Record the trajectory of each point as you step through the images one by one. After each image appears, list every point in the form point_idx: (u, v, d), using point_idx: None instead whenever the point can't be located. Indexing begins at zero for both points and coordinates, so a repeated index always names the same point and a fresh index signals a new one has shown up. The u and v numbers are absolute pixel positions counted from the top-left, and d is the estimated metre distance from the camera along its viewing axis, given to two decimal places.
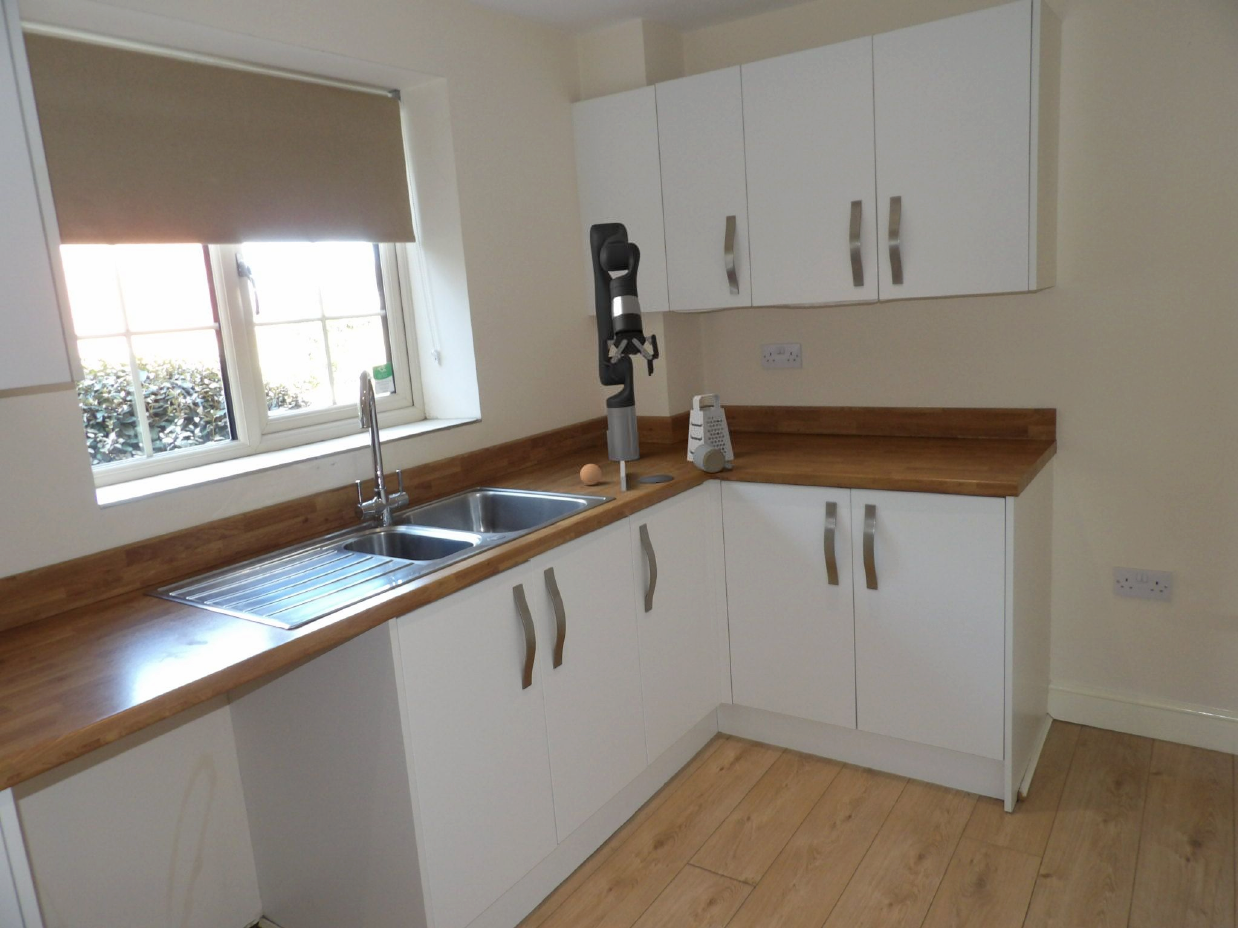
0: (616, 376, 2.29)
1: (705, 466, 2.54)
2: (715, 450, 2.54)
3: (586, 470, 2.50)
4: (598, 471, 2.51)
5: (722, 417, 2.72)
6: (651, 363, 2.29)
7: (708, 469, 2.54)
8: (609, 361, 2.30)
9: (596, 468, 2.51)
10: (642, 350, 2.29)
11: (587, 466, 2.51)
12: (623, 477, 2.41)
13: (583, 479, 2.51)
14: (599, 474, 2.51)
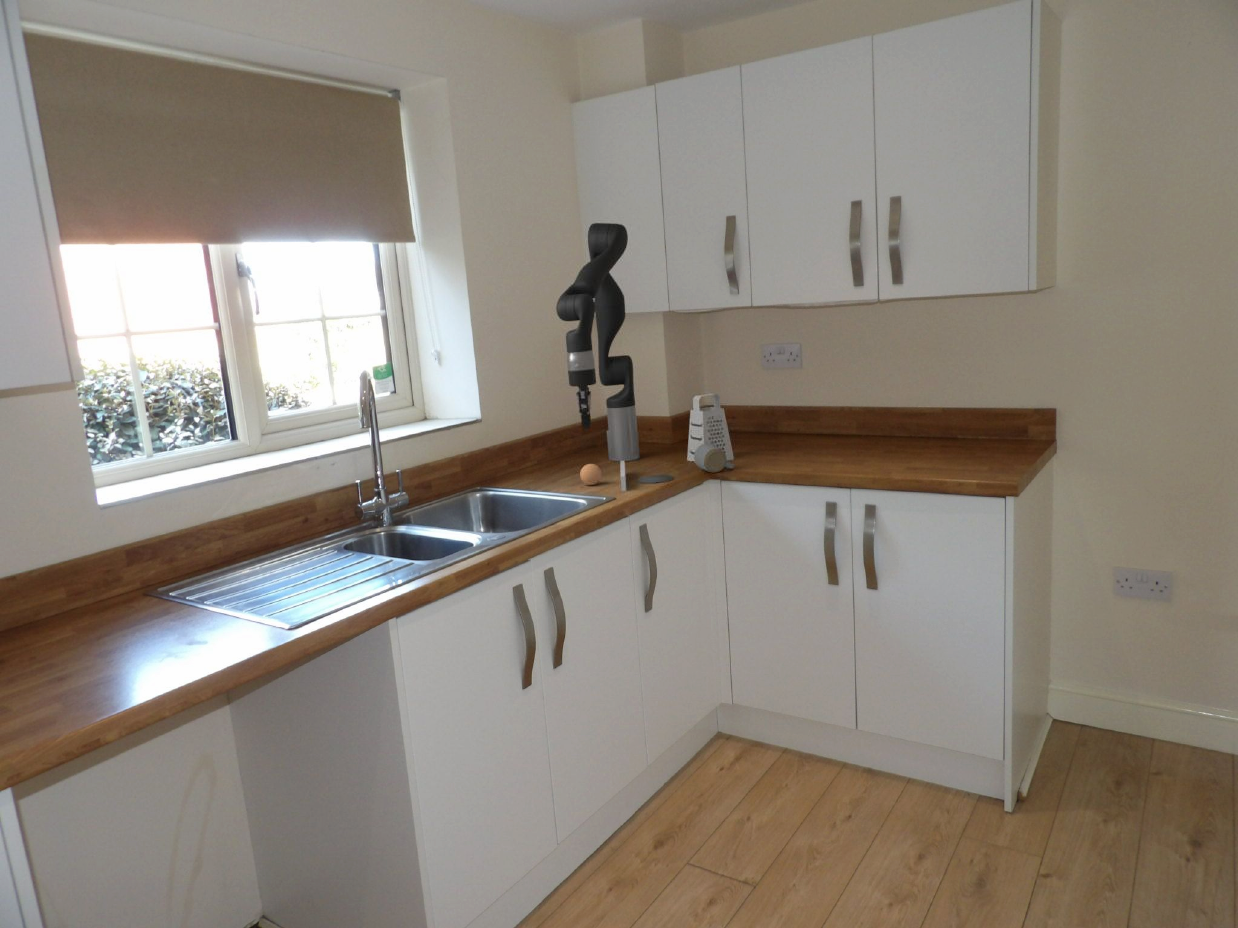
0: None
1: (706, 466, 2.54)
2: (716, 450, 2.54)
3: (586, 470, 2.50)
4: (598, 471, 2.51)
5: (722, 417, 2.72)
6: (582, 418, 2.45)
7: (709, 469, 2.54)
8: None
9: (596, 468, 2.51)
10: None
11: (587, 466, 2.51)
12: (623, 477, 2.41)
13: (583, 479, 2.51)
14: (599, 474, 2.51)
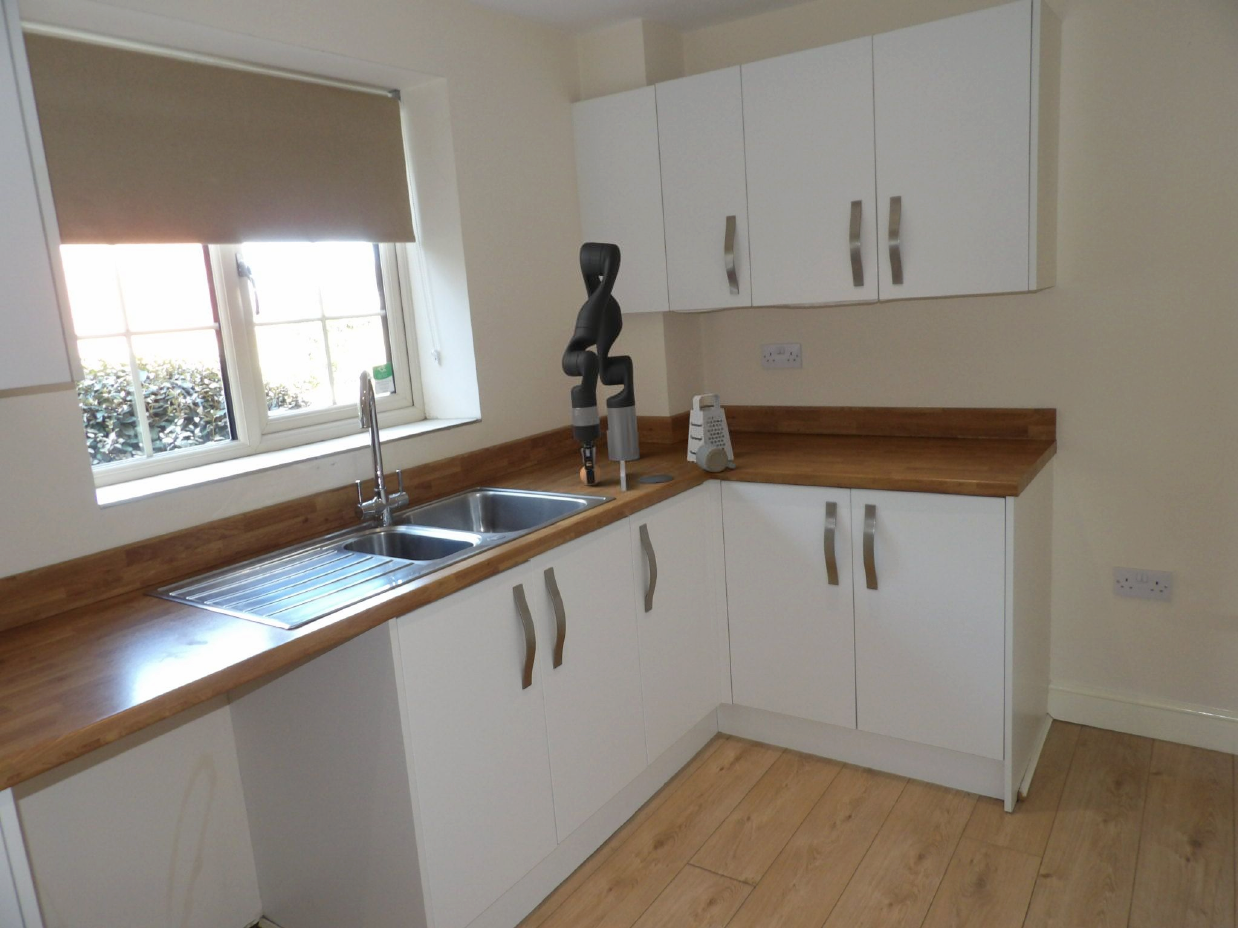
0: None
1: (708, 466, 2.54)
2: (718, 450, 2.54)
3: None
4: (598, 471, 2.51)
5: (722, 417, 2.72)
6: (587, 474, 2.49)
7: (711, 469, 2.54)
8: None
9: (596, 468, 2.51)
10: None
11: None
12: (623, 477, 2.41)
13: (583, 479, 2.51)
14: (599, 474, 2.51)
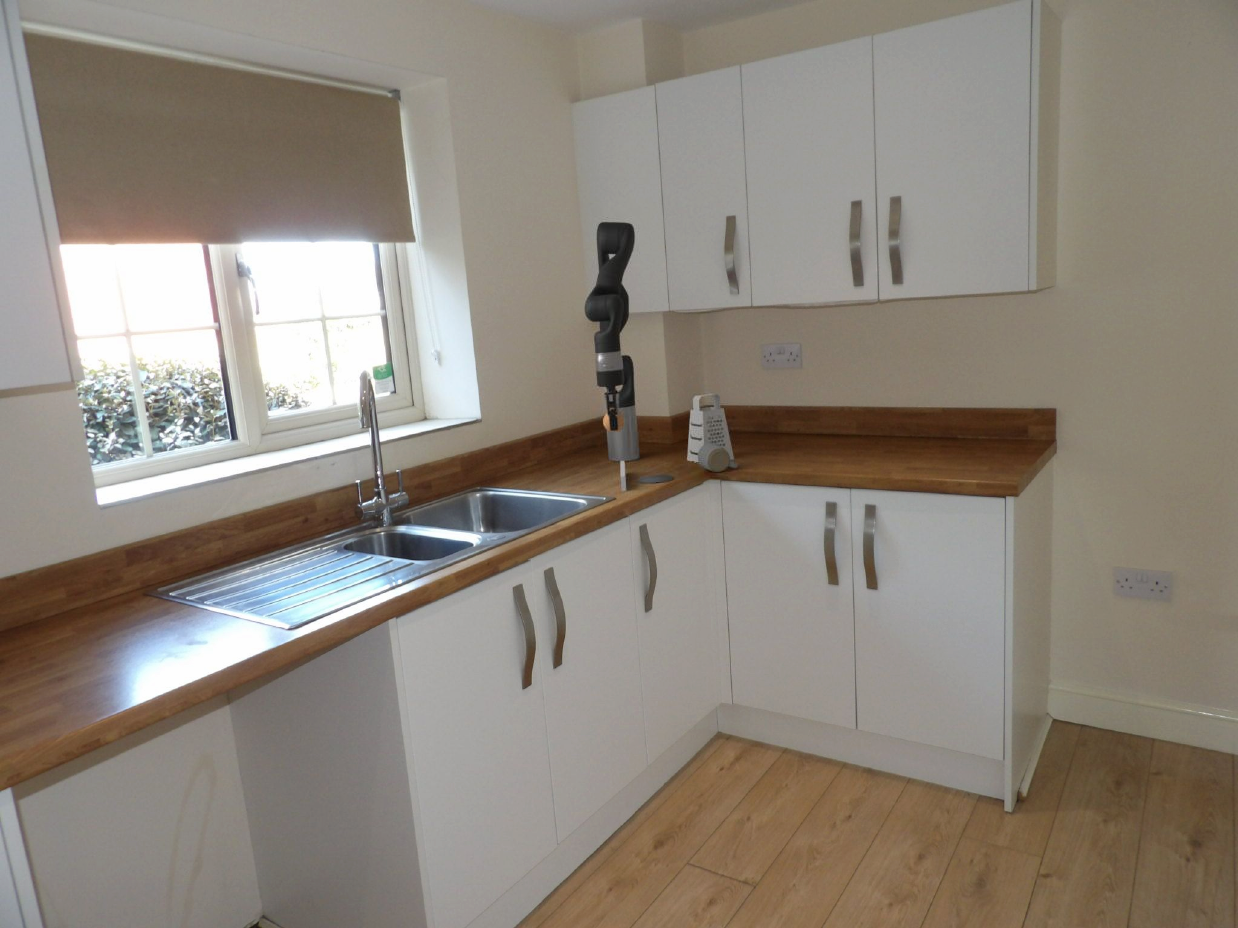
0: None
1: (710, 465, 2.54)
2: (720, 449, 2.54)
3: None
4: (621, 418, 2.48)
5: (722, 417, 2.72)
6: (610, 420, 2.46)
7: (713, 468, 2.54)
8: None
9: (619, 415, 2.48)
10: None
11: None
12: (623, 477, 2.41)
13: (606, 426, 2.49)
14: (622, 421, 2.49)
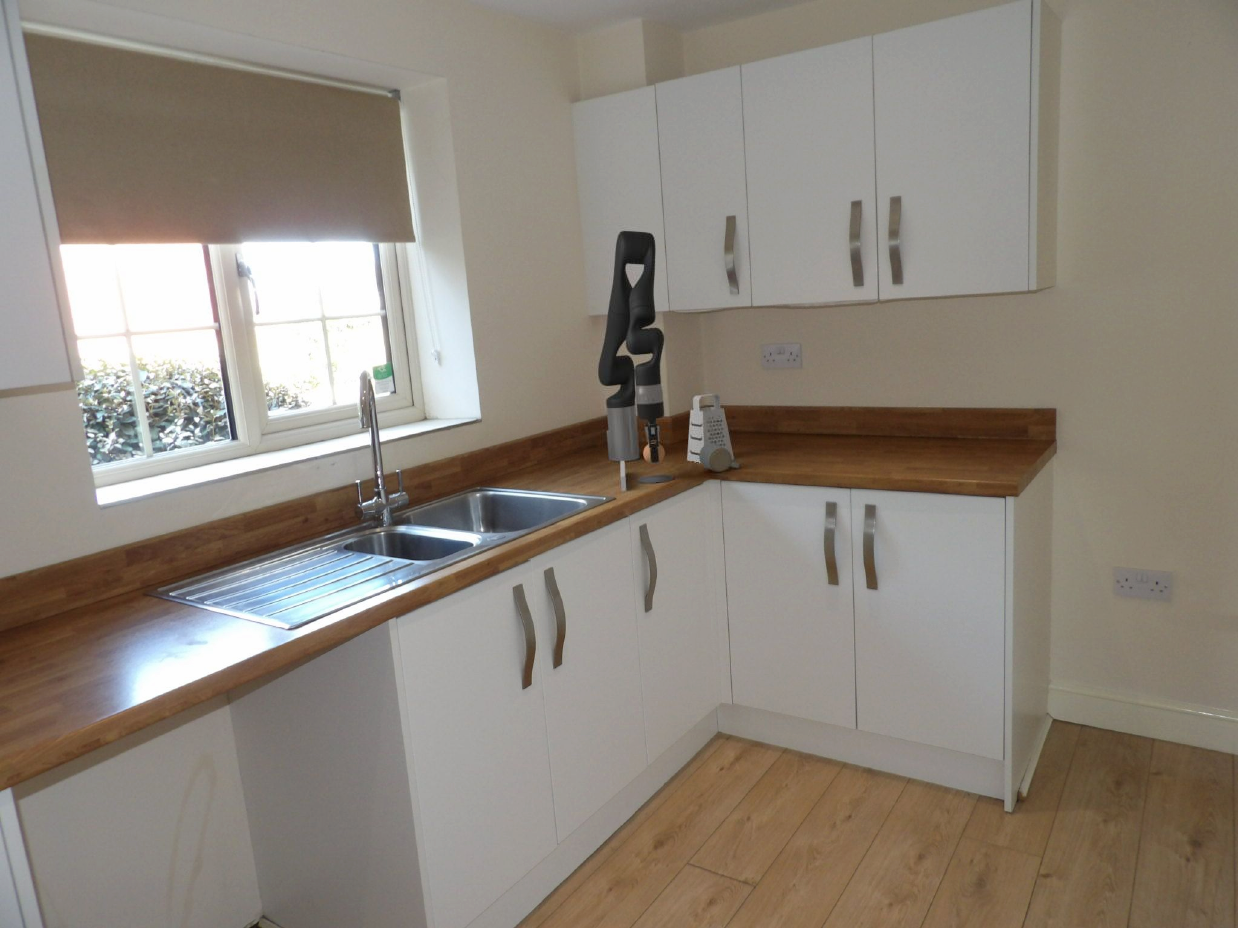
0: None
1: (712, 465, 2.54)
2: (722, 449, 2.54)
3: None
4: (662, 450, 2.50)
5: (722, 417, 2.72)
6: (651, 452, 2.48)
7: (714, 468, 2.55)
8: None
9: (660, 447, 2.50)
10: (647, 439, 2.49)
11: None
12: (623, 477, 2.41)
13: (647, 458, 2.50)
14: (663, 453, 2.50)
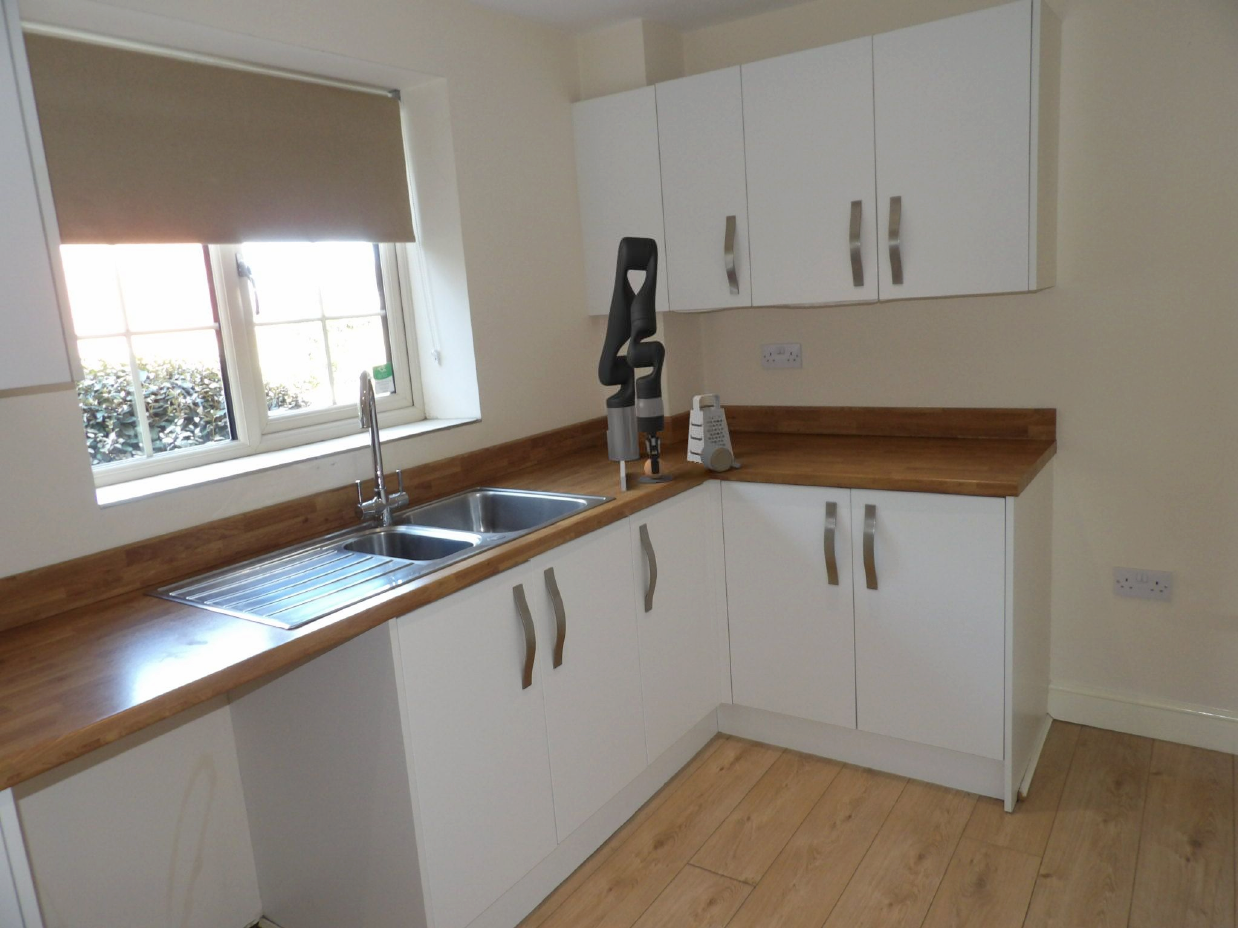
0: None
1: (713, 465, 2.54)
2: (723, 449, 2.54)
3: (650, 463, 2.50)
4: (662, 465, 2.51)
5: (722, 417, 2.72)
6: (652, 464, 2.48)
7: (716, 468, 2.55)
8: None
9: (660, 462, 2.51)
10: None
11: None
12: (623, 477, 2.41)
13: (647, 473, 2.51)
14: (663, 468, 2.51)
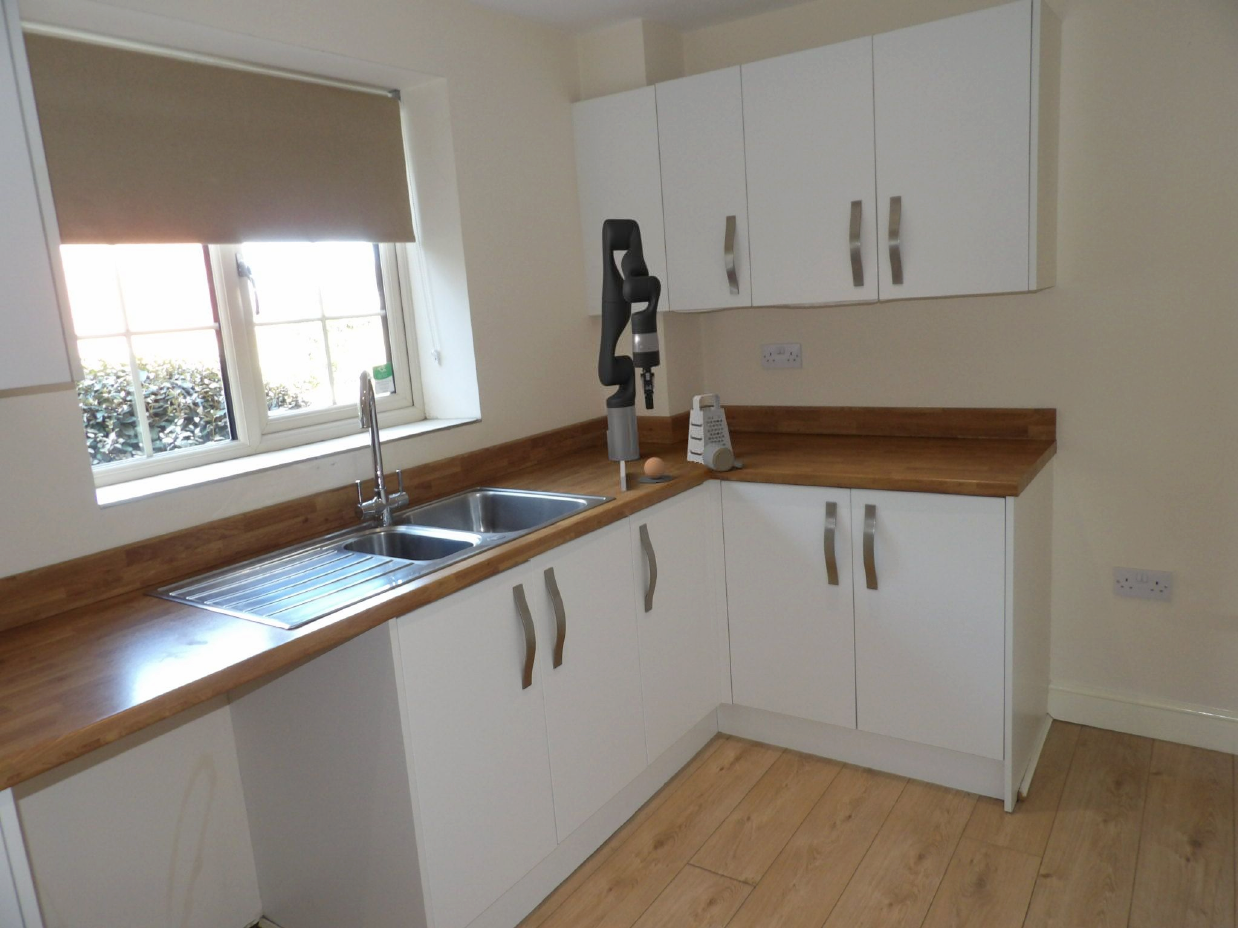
0: (645, 404, 2.57)
1: (715, 465, 2.54)
2: (725, 449, 2.54)
3: (650, 463, 2.50)
4: (662, 465, 2.51)
5: (722, 417, 2.72)
6: (646, 399, 2.48)
7: (718, 468, 2.55)
8: None
9: (660, 462, 2.51)
10: (642, 386, 2.49)
11: (651, 460, 2.51)
12: (623, 477, 2.41)
13: (647, 473, 2.51)
14: (663, 468, 2.51)
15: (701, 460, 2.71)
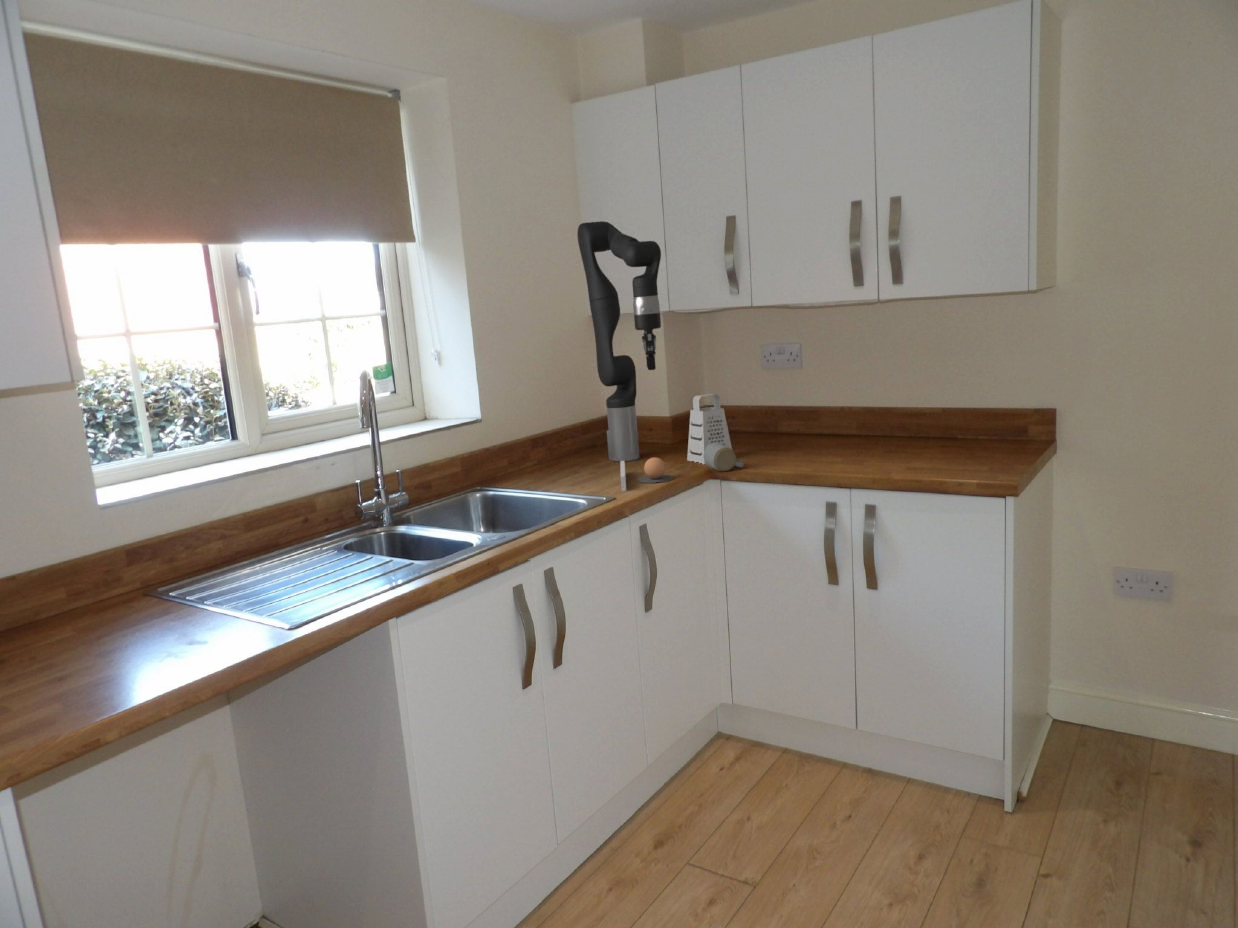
0: (647, 367, 2.65)
1: (716, 465, 2.54)
2: (726, 449, 2.55)
3: (650, 463, 2.50)
4: (662, 465, 2.51)
5: (722, 417, 2.72)
6: (648, 360, 2.56)
7: (719, 468, 2.55)
8: None
9: (660, 462, 2.51)
10: (644, 348, 2.57)
11: (651, 460, 2.51)
12: (623, 477, 2.41)
13: (647, 473, 2.51)
14: (663, 468, 2.51)
15: (701, 460, 2.71)
